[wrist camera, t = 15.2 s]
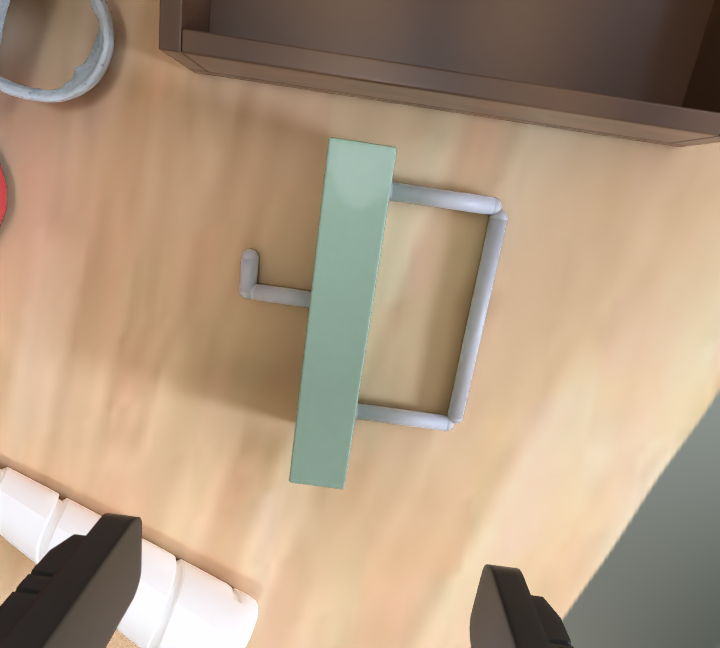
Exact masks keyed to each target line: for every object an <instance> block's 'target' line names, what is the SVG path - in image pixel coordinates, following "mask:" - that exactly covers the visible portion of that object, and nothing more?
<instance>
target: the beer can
mask: <svg viewBox="0 0 720 648" xmlns="http://www.w3.org/2000/svg"><path fill="white" fill-rule="evenodd" d="M6 209H7V185H6V182H5V179H4V175H3V172H2V168H1V165H0V226H1V223H2V220H3V217H4V215H5V212H6Z"/></svg>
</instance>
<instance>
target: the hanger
mask: <svg viewBox="0 0 720 648" xmlns="http://www.w3.org/2000/svg"><path fill="white" fill-rule="evenodd" d="M396 151H397V149H396V147H392V146H385V145H379V144H372V143H366V142H359V141H352V140H346V139H339V138H332V137H331V138H329V142H328V150H327V159H326V168H325V176H324V185H323V193H322V202H321V211H320V219H319V228H318V236H317V245H316V254H315V262H314V271H313V279H312V288H311V291H306V290H299V289H292V288H285V287H278V286H270V285H263V284H257V276H258V264H259V255H258V253H257V252H256V251H255V250H253V249H247V250H245V251H244V252H243V253H242V257H241V270H240V284H239V293H240V295H241V296H242V297H243V298H245V299H253V300H257V301H264V302H271V303H278V304H286V305H293V306H300V307H307V308H309V314H308V322H307V331H306V339H305V348H304V357H303V365H302V374H301V382H300V391H299V400H298V408H297V417H296V425H295V434H294V443H293V451H292V460H291V468H290V477H289V481H290V482H291V483H299V484H306V485H314V486H322V487H329V488H337V489H344V487H345V481H346V474H347V468H348V461H349V455H350V449H351V442H352V436H353V429H354V423H355V419H360V420H367V421H375V422H382V423H390V424H397V425H404V426H412V427H419V428H427V429H434V430H441V431H449V430H451V429H452V428H453V425H454V423H459V422H461V421H462V419H463V416H464V412H465V407H466V403H467V398H468V394H469V389H470V385H471V381H472V376H473V372H474V367H475V363H476V358H477V354H478V349H479V345H480V340H481V336H482V332H483V327H484V323H485V318H486V314H487V309H488V305H489V300H490V296H491V292H492V287H493V283H494V278H495V274H496V269H497V265H498V260H499V256H500V252H501V247H502V243H503V238H504V234H505V229H506V225H507V220H508V216H507V214H506V212H505V211H503V210H501V207H502V204H501V201H500V200H499V199H498V198H496V197H490V196H483V195H476V194H470V193H463V192H456V191H450V190H443V189H436V188H429V187H423V186H416V185H409V184H403V183H396V182H392V177H393V170H394V164H395V158H396ZM389 200H391V201H398V202H405V203H412V204H418V205H425V206H432V207H439V208H445V209H452V210H459V211H466V212H472V213H479V214H486V215H490V218H489V223H488V228H487V232H486V237H485V242H484V246H483V251H482V256H481V260H480V265H479V270H478V274H477V279H476V284H475V288H474V293H473V298H472V302H471V307H470V312H469V316H468V321H467V326H466V330H465V335H464V340H463V344H462V349H461V354H460V358H459V363H458V368H457V372H456V377H455V382H454V386H453V391H452V396H451V400H450V405H449V410H448V416H447V415H441V414H433V413H426V412H418V411H411V410H404V409H396V408H389V407H382V406H374V405H367V404H360V403H358V397H359V390H360V384H361V377H362V371H363V364H364V358H365V352H366V345H367V339H368V332H369V326H370V319H371V313H372V306H373V300H374V293H375V287H376V280H377V274H378V267H379V261H380V255H381V248H382V242H383V235H384V229H385V222H386V216H387V209H388V203H389Z"/></svg>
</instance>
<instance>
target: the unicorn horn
mask: <svg viewBox="0 0 720 648" xmlns="http://www.w3.org/2000/svg"><path fill="white" fill-rule="evenodd" d="M58 498H59V494H58V493H57V492H55V491H53V490H51V489H50V488H48V487H46V486H44V485H42V484H40V483H38V482H36V481H34V480H32V479H30V478H28V477H27V476H25V475H23V474H21V473H19V472H17V471H15V470H13V469H11V468H9V467H6V468H3V469H0V535H1V536H3V537H4V538H5V539H6V540H7V541H9V542H10V543H11V544H12V545H14V546H15V547H16V548H17V549H18V550H20V551H21V552H22V553H23V554H24V555H26V556H27V557H28V558H29V559H31V560H32V561H33V562H34V563H35V564H38V563H39V562H40V561H41V559H42V558H43V557H44V556H45V555H46V554H47V553H48V551H49V550H51V549H52V548H54V547H55V546H57V545H58V544H60V543H61V542H63V541H64V540H66V539H67V538H69V537H71V536H72V535H74V534H77V535H85V536H86V535H87V534H88V532H89V531H90V530H91V529H92V527H93V526H94V525H95V524H96V522H97V521H98V520H99V519H100V518H101V517H102V516H101V515H99V514H97V513H95V512H93V511H91V510H89V509H87V508H86V507H84V506H82V505H80V504H78V503H76V502H74V501H72V500H70V499H69V498H66V499H64V500H62V501H61V500H60V499H58ZM257 616H258V606H257V603H256V601H255V600H254V599H253V598H252V597H250V596H249V595H247V594H246V593H244V592H242V591H240V590H238V589H236V588H234V589H232V587H230V586H229V585H228V584H227V583H225V582H223V581H221V580H219V579H217V578H216V577H214V576H212V575H210V574H208V573H206V572H204V571H203V570H201V569H199V568H197V567H195V566H193V565H192V564H190V563H188V562H186V561H184V560H182V559H180V560H177V561H176V558H175V556H174V555H172V554H171V553H169V552H167V551H165V550H164V549H162V548H160V547H158V546H156V545H154V544H152V543H151V542H149V541H147V540H145V539H143V538H142V569H141V577H140V582H139V585H138V589H137V591H136V594H135V596H134V599H133V601H132V602H131V604H130V606H129V608H128V609H127V611H126V613H125V615H124V616H123V618H122V620H121V622H120V623H119V625H118V627H117V630H119V631H120V632H121V633H122V634H124V635H125V636H126V637H127V638H129V639H130V640H131V641H132V642H133V643H135V644H136V645H137V646H138V647H140V648H245V647H246V645H247V643H248V641H249V639H250V637H251V634H252V631H253V629H254V626H255V623H256V620H257Z"/></svg>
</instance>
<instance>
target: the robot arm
mask: <svg viewBox="0 0 720 648" xmlns="http://www.w3.org/2000/svg"><path fill="white" fill-rule="evenodd" d="M141 569H142V521H141V518H139V517H134V516H126V515H118V514H111V513H106V514H104V515H103V516H102V517H101V518H100V519H99V520H98V521H97V522H96V524H95V525H94V526H93V527H92V529H91V530H90V531H89V532H88V534H87V535H86V536H85V535H77V534H74V535H72V536H71V537H69V538H67V539H66V540H64V541H63V542H61V543H60V544H58V545H57V546H55V547H54V548H52V549H51V550H49V551H48V553H47V554H46V555H45V556H44V557H43V558H42V559H41V561H40V562H39V563H38V564H37V565H36V566H35V567H34V568H33V570H32V572H31V574H28V575H27V576H26V578H25V579H24V580H23V581H22V582H21V583H20V584H19V586H18V587H17V589H16V591H15V592H12V593H11V595H10V596H9V597H8V598H7V599H6V600H5V601H4V603H3V604H2V605H1V606H0V648H106V646H107V644H108V643H109V641H110V639H111V637H112V636H113V634H114V632H115V630H116V629H117V627H118V625H119V623H120V622H121V620H122V618H123V616H124V615H125V613H126V611H127V609H128V608H129V606H130V604H131V602H132V601H133V599H134V596H135V594H136V591H137V589H138V585H139V582H140V577H141ZM470 642H471V648H573V647H572V646H571V641H570V638H569V636H568V634H567V632H566V629H565V627H564V625H563V622H562V620H561V618H560V617H559V616H558V614H557V613H556V612H555V611H554V610H553V608H552V607H551V606H550V605H549V604H548V602H547V601H546V600H545V599H544V598H543V597H540V596H532V595H530V592H529V589H528V587H527V584H526V582H525V579H524V577H523V574H522V572H521V571H520V570H519V569H518V568H511V567H503V566H495V565H488V564H487V565H485V566H484V568H483V571H482V575H481V578H480V582H479V586H478V590H477V594H476V598H475V601H474V605H473V609H472V613H471V618H470Z"/></svg>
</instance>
